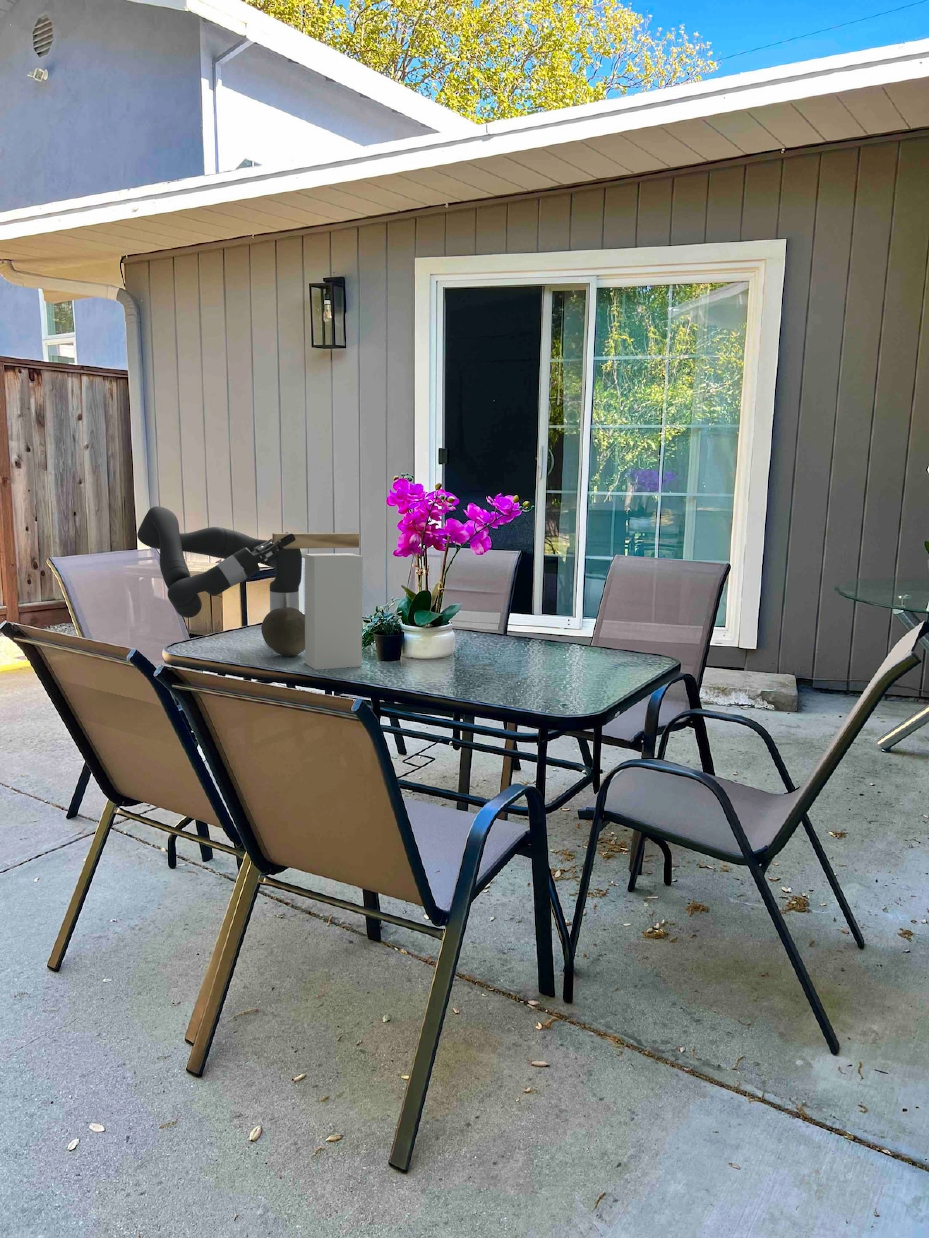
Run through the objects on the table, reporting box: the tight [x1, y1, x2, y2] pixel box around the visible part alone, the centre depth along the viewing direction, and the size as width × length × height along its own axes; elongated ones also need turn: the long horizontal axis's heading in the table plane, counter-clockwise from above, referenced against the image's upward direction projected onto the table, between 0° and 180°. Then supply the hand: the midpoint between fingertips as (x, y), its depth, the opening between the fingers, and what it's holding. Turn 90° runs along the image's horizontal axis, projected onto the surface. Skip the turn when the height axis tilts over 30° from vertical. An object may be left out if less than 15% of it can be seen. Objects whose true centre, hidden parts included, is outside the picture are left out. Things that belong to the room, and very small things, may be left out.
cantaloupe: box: [260, 607, 305, 657], centre depth 265 cm, size 14×14×15 cm
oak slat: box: [271, 532, 360, 549], centre depth 248 cm, size 4×24×4 cm, turn 115°
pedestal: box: [304, 552, 364, 671], centre depth 253 cm, size 10×14×32 cm
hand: (291, 535), depth 245 cm, fingers closed on oak slat, 4 cm apart
